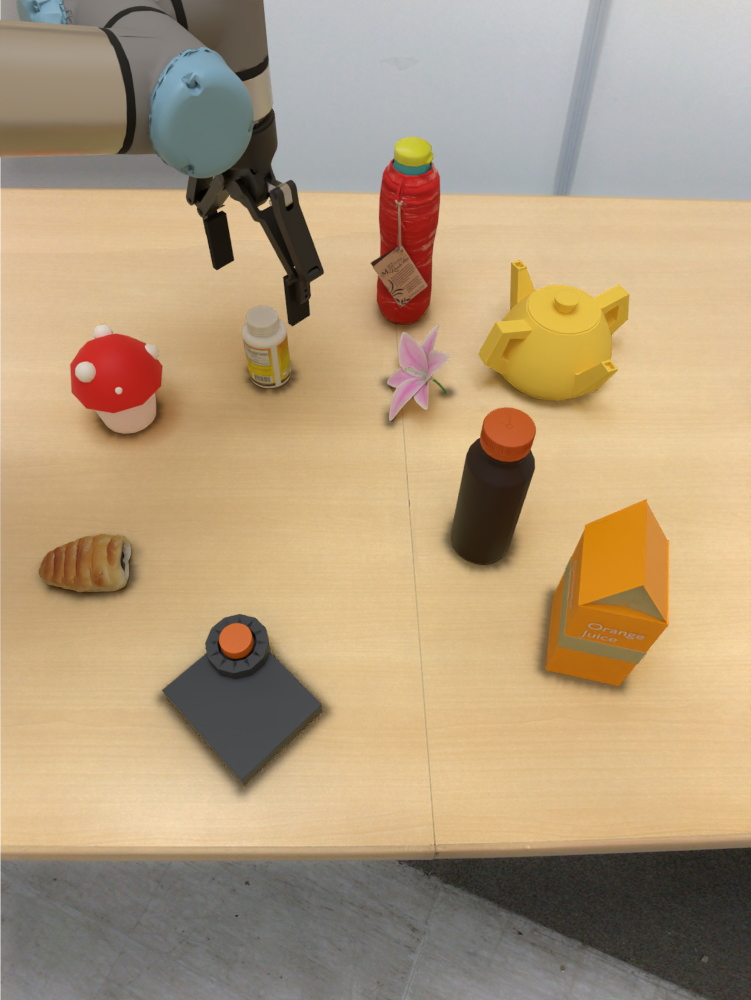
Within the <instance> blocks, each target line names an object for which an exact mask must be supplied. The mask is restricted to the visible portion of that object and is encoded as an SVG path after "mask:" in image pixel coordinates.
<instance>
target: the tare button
mask: <svg viewBox="0 0 751 1000" xmlns="http://www.w3.org/2000/svg"><path fill="white" fill-rule="evenodd" d="M219 644H220V646H221V649H222V651H223V653H224V654H225V655H226V656H227V657H229V658H231V659H241V658H243V657H245V656H247V655H248V654H249V653H250V652H251V650H252V648H253V645H254V641H253V637H252V633H251V631H250V629H249V628H248V627H247V626H246V625H244V624H241V623H233V624H230V625H228V626H226V627H225V628H224V629H223V630H222V632H221V633H220V636H219Z"/></svg>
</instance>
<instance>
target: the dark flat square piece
mask: <svg viewBox="0 0 751 1000" xmlns="http://www.w3.org/2000/svg"><path fill="white" fill-rule="evenodd" d="M233 623H241V624H244V625H246V626H247V627H248V628H249V629H250V631H251V633H252V637H253V641H254V645H253V648H252V650H251V652H250V653H249V654H248V655H247V656H245V657H243V658H241V659H231V658H229V657H227V656H226V655H225V654H224V653H223V651H222V649H221V646H220V644H219V636H220V633H221V632H222V630H223V629H224V628H225V627H226V626H228V625H230V624H233ZM204 645H205V652H206V653H205V654H203V655H202V656H201V657H200V658H199V659H197V660H196V661H195V662H194V663H193V664H191V665H190V666H189V667H188V668H187V669H185V670H184V671H183V672H182V673H181V674H179V676H177V677H176V678H174V679H173V680H172V681H171V682H170V683H168V684H167V685H166V686H165V687H164V688H163V689H161V691H162V693H163V694H164V696H165V698H166V699H167V700H168V701H169V702H170V703H171V705H172V706H173V707H174V708H175V709H176V710H177V711H178V713H179V714H180V715H181V716H182V717H183V718H184V720H185V721H186V722H187V723H188V724H189V725H190V726H191V727H192V729H193V730H194V731H195V732H196V733H197V734H198V736H199V737H200V738H201V739H202V740H203V741H204V742H205V744H207V746H208V747H209V748H210V749H211V750H212V752H213V753H214V754H215V755H216V756H217V758H218V759H220V761H221V762H222V763H223V764H224V766H226V768H227V769H228V770H229V771H230V772H231V774H232V775H233V776H234V777H235V778H236V779H237V780H238V781H239V782H240V784H241V785H242V786H245V785H246V784H247V783H248V782H250V780H251V779H252V778H254V777H255V776H256V775H257V774H258V773H259V772H260V771H261V770H262V769H263V768H264V767H266V765H267V764H268V763H270V762H271V761H272V760H273V758H275V757H276V756H277V754H279V753H280V752H281V751H282V750H283V749H284V748H286V746H287V745H288V744H289V743H291V742H292V741H293V740H294V739H295V738H296V737H297V736H298V735H299V734H300V733H301V732H302V731H303V730H304V729H305V728H307V726H308V725H309V724H310V723H311V722H313V721H314V720H315V719H316V718H317V717H318V716H319V715H320V714H321V713H322V712H323V706H322V703H321V702H320V701H319V700H318V699H317V698H316V697H315V696H314V695H313V694H312V693H311V692H310V691H309V690H308V689H307V688H306V687H305V686H304V684H302V683H301V682H300V681H299V680H298V679H297V678H296V677H295V676H294V675H293V674H292V673H291V672H290V671H289V670H288V668H286V667H285V666H284V664H283V663H281V661H280V660H278V658H276V656H275V655H274V654H272V652H271V644H270V639H269V635H268V631H267V628H266V627H265V626H264V624H263V623H261V621H260V620H259V619H257V618H256V617H254V616H250V615H246V614H242V613H238V614H233V615H229V616H225V617H223V618H222V619H220V620H219V621H218V622H217V623H216V624H214V625H213V626H212V627H211V628H210V630H209V633H208V635H207V637H206V640H205V642H204Z"/></svg>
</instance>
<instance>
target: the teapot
mask: <svg viewBox="0 0 751 1000" xmlns="http://www.w3.org/2000/svg"><path fill="white" fill-rule="evenodd" d="M509 292H510V293H509V296H510V297H509V311H508V312H507V313H506V315H505V316H504V317H503V318H502V320H501V321H495V322H494V324H493V326H492V327H491V330H490V331H489V333H488V335H487V336H486V338H485V340H484V342H483V344H482V346H481V347H480V349H479V351H478V353H477V355H478V357H479V358H480V359H481V361H482V363H483V364H484V366H486V367H487V368H490V369H491V370H493V371H495V372H497V373H498V374H500V375H501V376H502V377H503V378H504V380H506V381H507V382H508V383H509V384H510V385H511V386H512V387H514V388H515V389H516V390H518V391H519V392H521V393H523V394H524V395H526V396H529V397H531V398H534V399H538V400H542V401H554V402H555V401H565V400H571V399H575V398H578V397H581V396H583V395H586V394H590V393H594V392H596V391H598V390H599V389H600V388H601V387H602V386H603V385H604V384H605V383H606V382H607V381H608V380H609V379H610V378H612V377H613V376H614V375H615V374H616V373H617V372H618V371H619V369H618V367H617V366H616V364H615V363H614V362H613V360H612V356H613V341H612V335H614V334H615V333H616V331H618V330H619V329H620V328H621V327H622V326H623V325H624V324H625V323H626V322H627V321H628V320H629V312H630V310H629V309H630V293H629V292H628V291H627V290H626V289H625V288H624V287H623V286H621V285H620V284H618V285H615V286H613V287H611V288H609V289H607V290H606V291H604V292H602V293H600V294H598V295H596V296H591V295H590V294H589V293H588V292H586V291H584V290H582V289H581V288H578V287H575V286H571V285H566V284H552V285H545V286H542V287H540V288H538V289H536V288H535V286H534V283H533V281H532V279H531V276H530V273H529V271H528V266H527V265H526V264H525V263H524V262H523V261H521V259H517V260H514V261H511V262H510V291H509Z"/></svg>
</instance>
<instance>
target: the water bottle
mask: <svg viewBox="0 0 751 1000" xmlns="http://www.w3.org/2000/svg"><path fill="white" fill-rule="evenodd" d="M434 157H435V154H434V153H433V152H432V145H431V144H430V142H429V141H428V140H427V139H424V138H421V137H418V136H406V137H403V138H400V139H399V140H398V141H396V142H395V143H394V147H393V158H392V159H391V160H390V161H389V164H388V165H386V166H385V168H384V170H383V172H382V177H381V184H380V191H379V199H378V200H379V201H378V225H379V238H380V239H379V240H380V241H379V242H380V243H379V257H377V258H376V259H374V260H371V262H370V265H371V266H372V269H373V270H374V272H375V273H376V274H377V280H376V281H377V282H376V303H377V305H378V308H379V309H380V312H381V313H382V315H383V316H384V317H385V319H386V320H388V321H390V322H392V323H394V324H396V325H410V324H412V323H416V322H418V321H419V320H420V319H421V318H422V317H423V316H424V315H425V314H426V312H427V310H428V309H429V307H430V305H431V297H432V288H433V286H432V285H433V254H434V245H435V240H436V235H437V231H438V225H439V218H440V217H439V216H440V209H441V208H440V207H441V176H440V173H439V171H438V169H437V168H436V167H435V163H434V162H433V160H434Z"/></svg>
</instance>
